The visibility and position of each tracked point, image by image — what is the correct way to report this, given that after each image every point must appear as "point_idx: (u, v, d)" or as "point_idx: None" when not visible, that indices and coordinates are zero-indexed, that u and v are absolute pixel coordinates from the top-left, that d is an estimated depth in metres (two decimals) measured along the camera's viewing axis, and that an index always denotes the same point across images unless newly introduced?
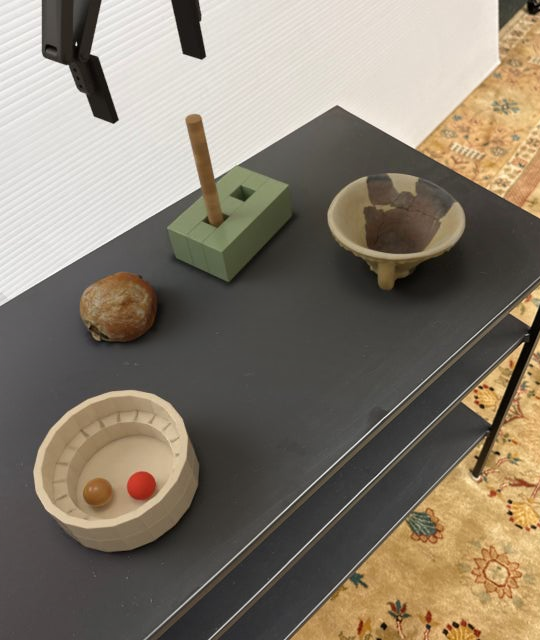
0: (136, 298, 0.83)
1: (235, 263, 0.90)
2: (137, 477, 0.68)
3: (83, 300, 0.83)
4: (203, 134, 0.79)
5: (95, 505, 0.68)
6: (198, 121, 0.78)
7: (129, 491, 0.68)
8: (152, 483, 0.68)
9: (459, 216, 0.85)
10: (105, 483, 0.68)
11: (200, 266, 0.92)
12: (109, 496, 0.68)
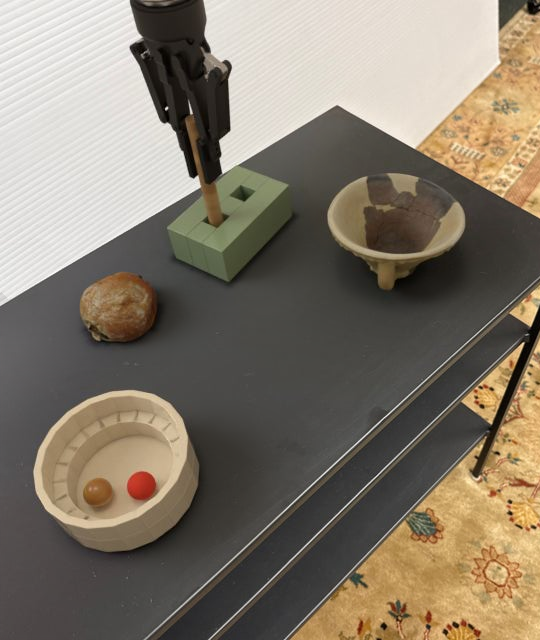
0: (136, 298, 0.83)
1: (235, 263, 0.90)
2: (137, 477, 0.68)
3: (83, 300, 0.83)
4: None
5: (95, 505, 0.68)
6: None
7: (129, 491, 0.68)
8: (152, 483, 0.68)
9: (459, 216, 0.85)
10: (105, 483, 0.68)
11: (200, 266, 0.92)
12: (109, 496, 0.68)
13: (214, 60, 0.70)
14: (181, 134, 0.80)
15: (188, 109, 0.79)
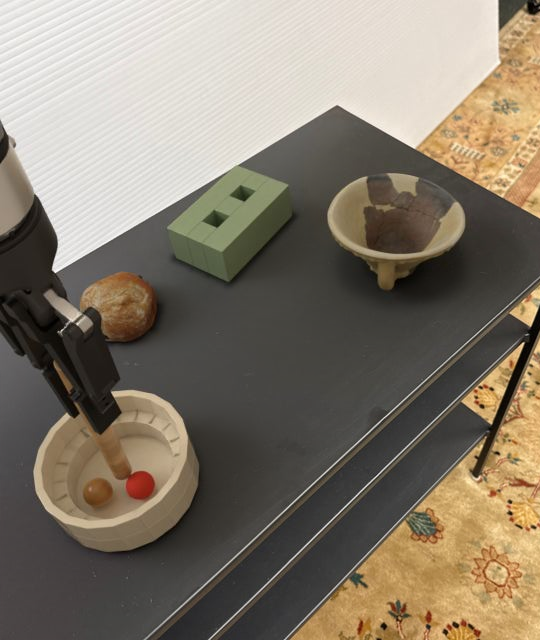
0: (136, 298, 0.83)
1: (235, 263, 0.90)
2: (135, 476, 0.68)
3: (83, 300, 0.83)
4: None
5: (95, 505, 0.68)
6: None
7: (128, 490, 0.68)
8: (150, 481, 0.68)
9: (459, 216, 0.85)
10: (105, 483, 0.68)
11: (200, 266, 0.92)
12: (109, 496, 0.68)
13: (71, 311, 0.43)
14: (45, 373, 0.53)
15: None
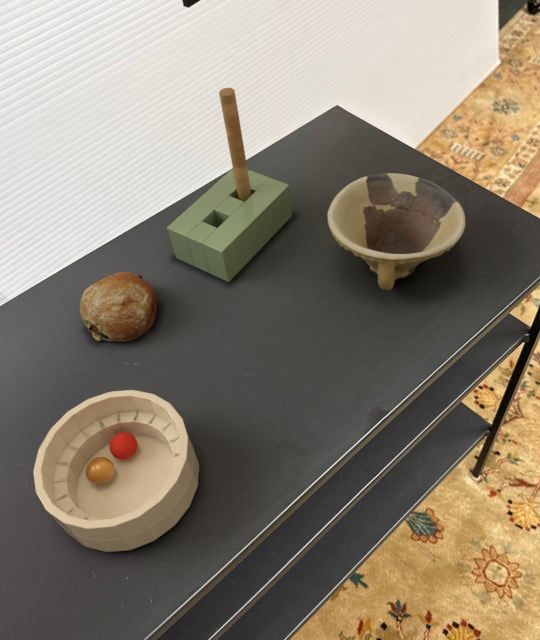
0: (136, 298, 0.83)
1: (235, 263, 0.90)
2: None
3: (83, 300, 0.83)
4: (234, 108, 0.83)
5: (97, 464, 0.69)
6: (230, 95, 0.81)
7: None
8: None
9: (459, 216, 0.85)
10: None
11: (200, 266, 0.92)
12: None
13: None
14: None
15: None
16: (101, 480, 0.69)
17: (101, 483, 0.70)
